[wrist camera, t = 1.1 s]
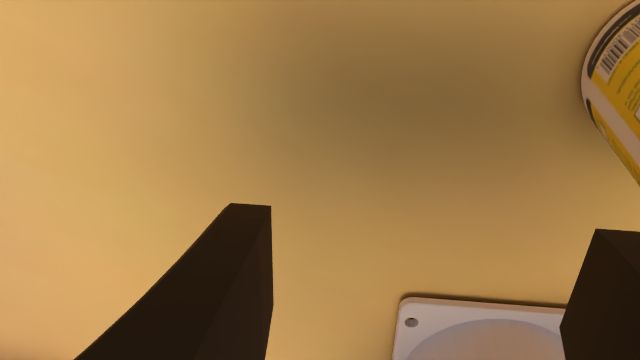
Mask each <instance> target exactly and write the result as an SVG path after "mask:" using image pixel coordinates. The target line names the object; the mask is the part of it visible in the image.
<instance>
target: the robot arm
mask: <svg viewBox="0 0 640 360" xmlns="http://www.w3.org/2000/svg"><path fill="white" fill-rule="evenodd" d="M272 311H273V268H272V227H271V206H265V205H251V204H237V203H230V204H229V205H228V206H227V207H225V208H224V209H223V210H222V212H221V213H220V214H219V215H218V216H217V217H216V218H215V220H214V221H213V222H212V223H211V224H210V225H209V226H208V228H207V229H206V230H205V231H204V232H203V233H202V234H201V235H200V237H199V238H198V239H197V240H196V241H195V242H194V243H193V244H192V245H191V247H190V248H189V249H188V250H187V251H186V252H185V253H184V254H183V255H182V256H181V257H180V258H179V260H178V261H177V262H176V263H175V264H174V265H173V266H172V267H171V268H170V269H169V270H168V271H167V272H166V273H165V274H164V275H163V276H162V277H161V278H160V279H159V280H158V281H157V282H156V283H155V284H154V285H153V286H152V287H151V288H150V289H149V290H148V291H147V292H146V294H145V295H144V296H142V297H141V298H140V299H139V300H138V301H137V302H136V303H135V304H134V305H133V306H132V307H131V308H130V309H129V310H128V311H127V312H126V313H125V314H124V315H122V316H121V317H120V318H119V319H118V320H117V321H116V322H115V323H114V324H113V325H112V326H111V327H109V328H108V329H107V330H106V331H105V332H104V333H103V334H102V335H101V336H100V337H99V338H98V339H97V340H95V341H94V342H93V343H92V344H91V345H90V346H89V347H88V348H87V349H85V350H84V351H83V352H82V353H81V354H80V355H78V356H77V357H76V358H75V359H74V360H265V355H266V349H267V343H268V337H269V330H270V324H271V317H272ZM408 318H415V319H413V320H409V319H408ZM391 360H640V232H635V231H621V230H607V229H595V232H594V235H593V237H592V240H591V243H590V245H589V248H588V251H587V254H586V256H585V259H584V262H583V264H582V267H581V270H580V272H579V275H578V278H577V281H576V283H575V286H574V289H573V291H572V294H571V297H570V299H569V302H568V305H567V308H566V309H560V308H548V307H535V306H522V305H509V304H496V303H483V302H471V301H458V300H445V299H432V298H419V297H409V298H406V299H404V300H403V301H401V303H400V305H399V311H398V318H397V325H396V331H395V338H394V345H393V352H392V359H391Z"/></svg>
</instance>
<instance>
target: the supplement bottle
mask: <svg viewBox="0 0 640 360" xmlns="http://www.w3.org/2000/svg"><path fill="white" fill-rule="evenodd" d="M581 90H582V97H583V101H584V104H585V107H586V110H587V112H588V114H589V116H590V117H591V119H592V121H593V122H594V124H595V125H596V127H597V128H598V129H599V131H600V132H601V133H602V135H603V136H604V138H605V139H606V140H607V142H608V143H609V144H610V146H611V147H612V148H613V150H614V151H615V153H616V154H617V155H618V157H619V158H620V160H621V161H622V162H623V164H624V165H625V166H626V168H627V169H628V171H629V172H630V174H631V175H632V176H633V178H634V179H635V180H636V182H637V183H638V185H639V186H640V0H636V1H634V2H632V3H631V4H630V5H628V6H627V7H625V8H624V9H623V10H621V11H620V12H619V13H618V14H616V15H615V16H614V17H613V18H612V19H611V20H610V21H609V22H608V23H607V24H606V25H605V26H604V28H603V29H602V30H601V32H600V33H599V34H598V36H597V37H596V38H595V40H594V42H593V43H592V45H591V47H590V49H589V51H588V53H587V56H586V59H585V62H584V65H583V70H582V77H581Z"/></svg>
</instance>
